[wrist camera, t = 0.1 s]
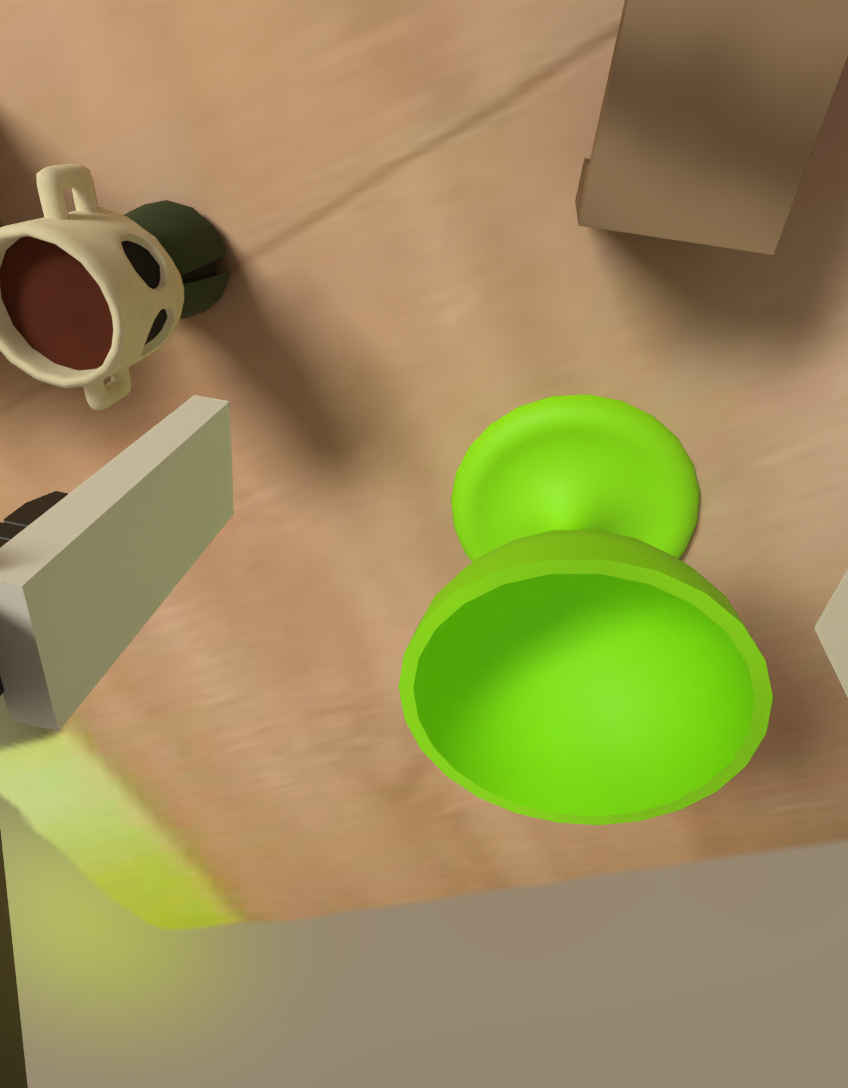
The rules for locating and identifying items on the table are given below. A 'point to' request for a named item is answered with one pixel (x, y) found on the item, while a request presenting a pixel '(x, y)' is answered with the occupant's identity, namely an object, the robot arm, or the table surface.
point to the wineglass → (582, 627)
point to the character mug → (100, 284)
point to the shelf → (712, 118)
